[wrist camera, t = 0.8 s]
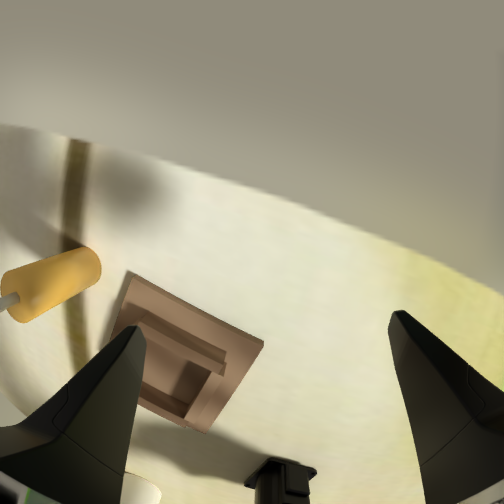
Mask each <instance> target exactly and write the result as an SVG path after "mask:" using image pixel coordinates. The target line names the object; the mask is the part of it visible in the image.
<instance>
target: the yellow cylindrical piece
mask: <svg viewBox="0 0 504 504" xmlns="http://www.w3.org/2000/svg"><path fill="white" fill-rule="evenodd" d="M100 276H101V263H100V260H99V258H98V256H97V254H96V253H95V252H94V251H93V250H91V249H90V248H87V247H80V248H77V249H73V250H70V251H67V252H64V253H61V254H58V255H55V256H51V257H48V258H45V259H42V260H39V261H36V262H33V263H30V264H27V265H24V266H21V267H19V268H16V269H13V270H10V271H7V272H6V273H5V274H4V275H3V277H2V280H1V286H0V288H1V296H2V297H1V298H0V312H2V311H4V310H6V309H7V311H8V313H9V314H10V315H11V316H12V317H13V318H14V319H15V320H16V321H18V322H20V323H27V322H29V321H31V320H32V319H34V318H36V317H38V316H39V315H41V314H43V313H44V312H46V311H48V310H50V309H51V308H53V307H55V306H57V305H58V304H60V303H62V302H64V301H65V300H67V299H69V298H71V297H72V296H74V295H76V294H78V293H80V292H81V291H83V290H85V289H87V288H89V287H90V286H92V285H94V284H95V283H97V282H98V280H99V279H100Z"/></svg>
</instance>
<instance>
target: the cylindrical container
mask: <svg viewBox="0 0 504 504" xmlns="http://www.w3.org/2000/svg"><path fill="white" fill-rule="evenodd" d="M123 478H124V479H123V486H122V492H121V500H120V504H159V501H160V498H161V492H160V490H159V489H158V488H157V487H156V486H155V485H154V484H152V483H151V482H149V481H147V480H146V479H144V478H141V477H139V476H136V475H133V474H129V473H124V477H123Z"/></svg>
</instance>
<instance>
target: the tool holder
mask: <svg viewBox="0 0 504 504" xmlns="http://www.w3.org/2000/svg"><path fill="white" fill-rule="evenodd" d="M128 325H138V326H140V328H141V330H142V332H143V334H144V337H145V339H146V342H147V347H146V355H145V363H144V372H143V379H142V385H141V390H140V394H139V399H138V403H137V404H138V405H140V406H142V407H144V408H146V409H148V410H150V411H152V412H154V413H156V414H157V415H159V416H161V417H163V418H166V419H168V420H170V421H172V422H174V423H176V424H178V425H180V426H182V427H186V426H188V427H190V428H192V429H195V430H197V431H199V432H202V433H204V434H206V432H207V431H208V429H209V428H210V427H211V425H212V424H213V422H214V421H215V419H216V418H217V417H218V415H219V414H220V412H221V411H222V409H223V408H224V406H225V405H226V403H227V402H228V400H229V399H230V397H231V396H232V394H233V393H234V391H235V390H236V388H237V387H238V385H239V384H240V382H241V381H242V379H243V378H244V376H245V375H246V373H247V372H248V370H249V369H250V367H251V365H252V364H253V362H254V361H255V359H256V358H257V356H258V355H259V353H260V351H261V350H262V348H263V347H264V341H262V340H260V339H258V338H256V337H254V336H252V335H250V334H248V333H246V332H244V331H242V330H240V329H237V328H235V327H233V326H231V325H229V324H227V323H225V322H223V321H221V320H219V319H217V318H216V317H214V316H212V315H210V314H208V313H206V312H204V311H202V310H200V309H198V308H196V307H194V306H192V305H191V304H189V303H187V302H185V301H183V300H181V299H179V298H178V297H176V296H174V295H172V294H170V293H168V292H167V291H165V290H163V289H161V288H159V287H158V286H156V285H154V284H152V283H151V282H149V281H147V280H145V279H144V278H142V277H140V276H138V275H136V276H134V277H132V279H131V282H130V285H129V287H128V290H127V293H126V295H125V298H124V301H123V303H122V306H121V309H120V312H119V315H118V317H117V320H116V323H115V326H114V329H113V332H112V335H111V338H110V341H111V340H112V339H113V338H115V337H116V336H117V335H118V334H119V333H120V332H121V331H122V330H123V329H124V328H125V327H126V326H128ZM110 341H109V342H110Z"/></svg>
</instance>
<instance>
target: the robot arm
mask: <svg viewBox="0 0 504 504" xmlns="http://www.w3.org/2000/svg"><path fill="white" fill-rule="evenodd" d="M388 335H389V340H390V345H391V350H392V356H393V361H394V366H395V371H396V374H397V378H398V381H399V385H400V388H401V392H402V395H403V399H404V403H405V406H406V410H407V414H408V418H409V422H410V426H411V430H412V434H413V438H414V443H415V447H416V452H417V457H418V461H419V466H420V472H421V478H422V483H423V489H424V495H425V501H426V504H457V503H459V504H504V392H503V391H502V390H500V389H499V388H498V387H496V386H495V385H494V384H492V383H491V382H490V381H488V380H487V379H486V378H484V377H483V376H482V375H481V374H480V373H479V372H477V371H476V370H475V369H474V368H473V367H472V366H470V365H468V363H467V362H466V361H465V360H463V359H462V358H461V357H460V356H459V355H458V354H457V353H455V352H454V351H453V350H452V349H451V348H450V347H448V346H447V345H446V344H445V343H444V342H442V341H441V340H440V339H439V338H438V337H436V336H435V335H434V334H433V333H432V332H430V331H429V330H428V329H427V328H426V327H424V326H423V325H422V324H421V323H420V322H418V321H417V320H416V319H415V318H413V317H412V316H411V315H410V314H409V313H407V312H406V311H404V310H398V311H394V312H393V313H392V316H391V319H390V323H389V326H388ZM146 347H147V342H146V339H145V337H144V334H143V332H142V330H141V328H140V326H138V325H128V326H126V327H125V328H124V329H123V330H122V331H121V332H120V333H119V334H118V335H117V336H116V337H115V338H113V339H112V340H111V341H110V342H109V343H108V344H107V345H106V346H105V347H104V348H103V349H102V350H101V351H100V352H99V353H98V354H96V355H95V356H94V357H93V358H92V359H91V360H90V361H89V362H88V363H87V364H86V365H85V366H84V367H83V368H82V369H81V370H80V371H79V372H78V373H77V374H76V375H75V376H73V377H72V378H71V379H70V380H69V381H68V384H67V383H66V384H65V385H64V386H63V387H62V388H61V389H60V390H59V391H58V392H57V393H56V394H55V395H54V396H52V397H51V398H50V399H49V400H48V401H47V402H45V403H44V404H43V405H42V406H41V407H39V408H38V409H37V410H36V411H35V412H33V413H32V414H31V415H30V416H28V417H27V418H26V419H25V420H23V421H22V422H20V423H18V424H16V425H13V426H6V427H0V504H120V500H121V492H122V486H123V479H124V478H123V477H124V472H125V466H126V460H127V454H128V448H129V443H130V438H131V432H132V427H133V422H134V417H135V413H136V408H137V403H138V399H139V394H140V390H141V385H142V379H143V372H144V363H145V355H146ZM316 474H317V470H315V469H311V468H307V467H303V466H299V465H296V464H292V463H288V462H285V461H281V460H278V459H274V458H269V459H267V460H266V461H265V462H264V463H263V464H262V465H261V466H260V467H259V468H258V469H257V470H256V471H255V472H254V473H253V474H252V475H251V476H250V477H249V478H248V479H247V480H246V481H245V482H244V486H245V487H248V488H251V489H255V504H310V499H309V495H310V488H309V481H310V480H311V479H312V478H313V477H314V476H315V475H316Z"/></svg>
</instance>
